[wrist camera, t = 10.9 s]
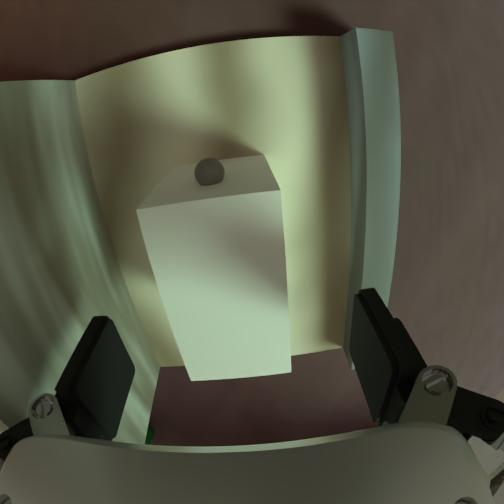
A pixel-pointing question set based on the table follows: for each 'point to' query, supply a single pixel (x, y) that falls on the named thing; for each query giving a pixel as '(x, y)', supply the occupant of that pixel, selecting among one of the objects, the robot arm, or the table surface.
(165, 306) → the mini cabinet
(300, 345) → the curved railed panel
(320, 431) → the table surface
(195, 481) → the robot arm
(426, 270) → the table surface
